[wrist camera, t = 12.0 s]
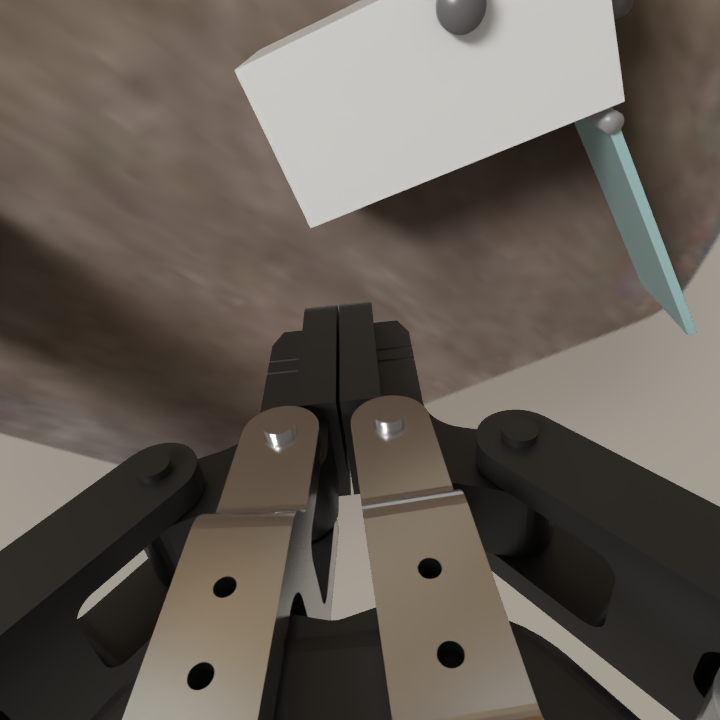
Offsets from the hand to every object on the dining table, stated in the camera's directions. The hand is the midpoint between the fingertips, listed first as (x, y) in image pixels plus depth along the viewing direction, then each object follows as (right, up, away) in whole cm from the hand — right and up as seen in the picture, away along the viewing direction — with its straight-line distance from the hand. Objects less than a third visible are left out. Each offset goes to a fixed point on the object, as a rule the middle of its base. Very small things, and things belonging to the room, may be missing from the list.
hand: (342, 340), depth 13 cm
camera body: (+4, +17, +19) cm, 26 cm away
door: (+16, +10, +23) cm, 30 cm away
